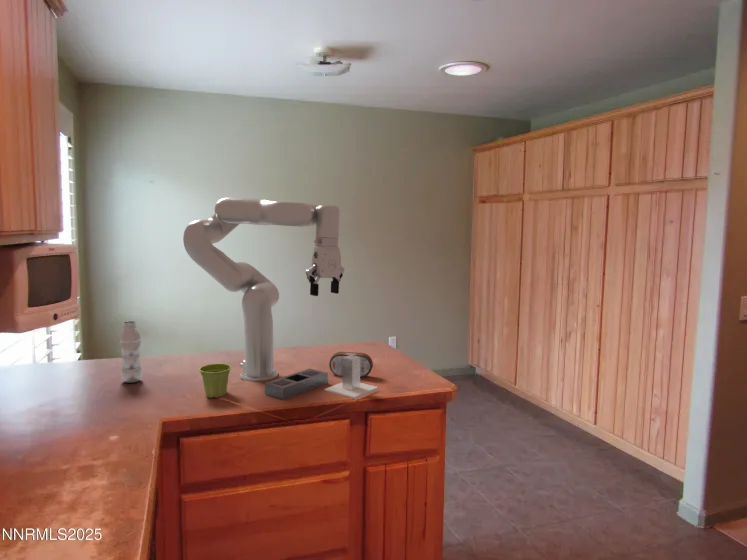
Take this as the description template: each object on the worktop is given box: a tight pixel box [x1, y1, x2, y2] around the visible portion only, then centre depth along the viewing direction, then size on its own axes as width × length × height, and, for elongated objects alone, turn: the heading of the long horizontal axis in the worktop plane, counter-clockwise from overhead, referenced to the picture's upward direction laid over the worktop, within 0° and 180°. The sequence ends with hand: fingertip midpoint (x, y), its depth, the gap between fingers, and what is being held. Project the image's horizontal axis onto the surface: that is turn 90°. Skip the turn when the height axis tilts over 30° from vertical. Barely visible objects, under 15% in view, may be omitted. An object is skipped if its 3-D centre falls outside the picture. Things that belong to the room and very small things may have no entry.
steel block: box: [341, 355, 361, 391], centre depth 169 cm, size 4×4×10 cm
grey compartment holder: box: [264, 368, 329, 401], centre depth 170 cm, size 8×20×4 cm, turn 143°
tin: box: [328, 351, 374, 378], centre depth 185 cm, size 15×3×8 cm, turn 84°
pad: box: [324, 382, 379, 401], centre depth 170 cm, size 12×12×1 cm
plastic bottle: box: [119, 320, 143, 384], centre depth 175 cm, size 6×7×20 cm
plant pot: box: [198, 363, 232, 399], centre depth 164 cm, size 9×9×9 cm
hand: (324, 294), depth 179 cm, fingers open, 9 cm apart
